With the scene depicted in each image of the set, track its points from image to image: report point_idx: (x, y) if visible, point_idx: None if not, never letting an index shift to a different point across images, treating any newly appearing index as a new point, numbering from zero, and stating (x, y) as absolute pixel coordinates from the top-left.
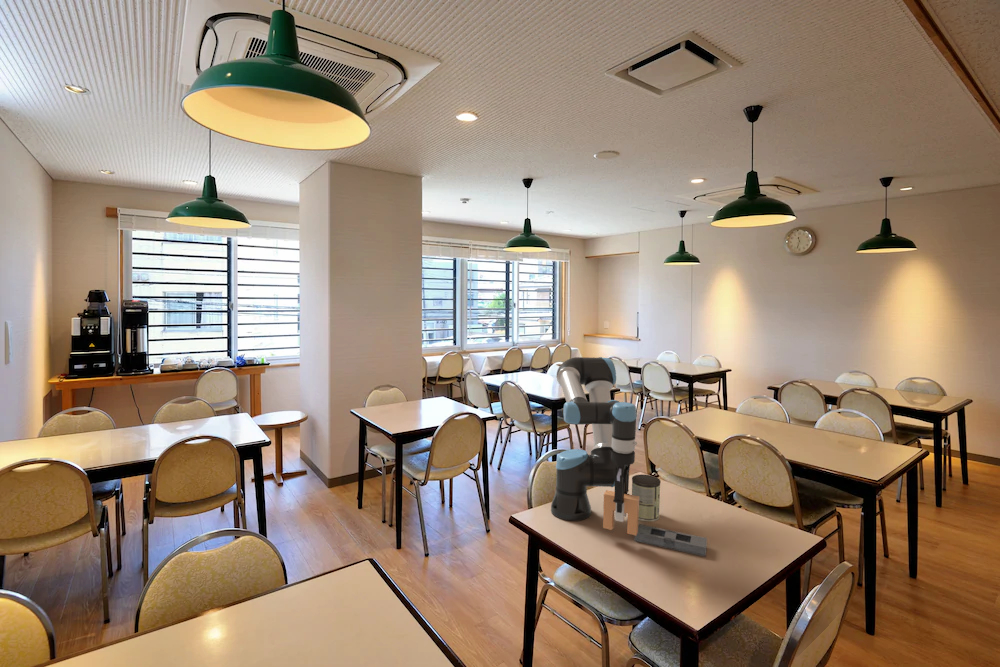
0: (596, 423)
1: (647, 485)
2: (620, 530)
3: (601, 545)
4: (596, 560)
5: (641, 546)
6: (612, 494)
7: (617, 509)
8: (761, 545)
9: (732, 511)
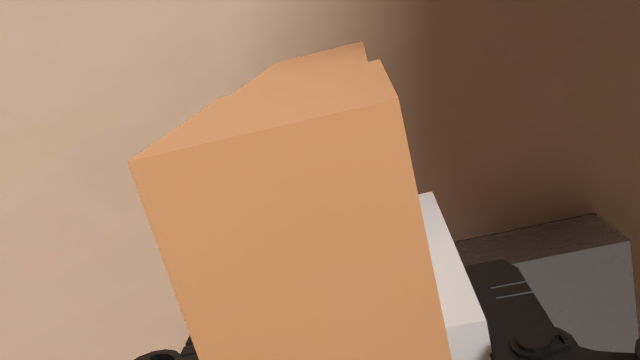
0: None
1: None
2: (541, 90)
3: (210, 84)
4: (7, 155)
5: None
6: (254, 326)
7: (190, 351)
8: None
9: None
